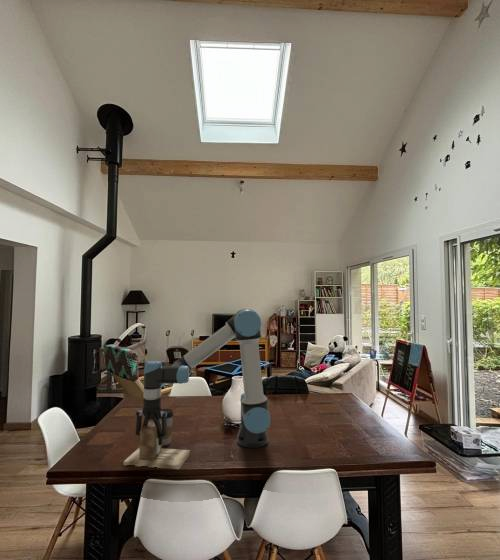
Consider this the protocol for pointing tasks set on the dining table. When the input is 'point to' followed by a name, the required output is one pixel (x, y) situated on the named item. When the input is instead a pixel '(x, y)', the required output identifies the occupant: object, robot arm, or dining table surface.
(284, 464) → the dining table surface
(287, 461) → the dining table surface
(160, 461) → the board
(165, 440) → the coffee cup
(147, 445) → the block
